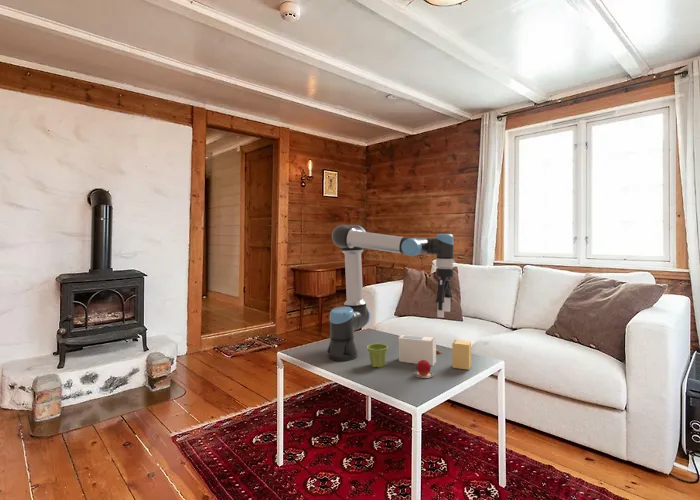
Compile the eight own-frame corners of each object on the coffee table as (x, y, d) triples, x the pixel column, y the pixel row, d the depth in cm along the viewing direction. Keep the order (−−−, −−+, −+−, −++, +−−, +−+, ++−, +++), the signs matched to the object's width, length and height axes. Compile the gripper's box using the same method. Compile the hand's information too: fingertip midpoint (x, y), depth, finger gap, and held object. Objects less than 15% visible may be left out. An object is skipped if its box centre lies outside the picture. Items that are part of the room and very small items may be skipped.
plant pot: (374, 370, 163) (373, 350, 163) (363, 364, 172) (363, 345, 171) (392, 366, 167) (391, 347, 167) (381, 360, 176) (380, 342, 176)
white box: (398, 361, 175) (398, 337, 174) (402, 357, 180) (402, 334, 180) (433, 365, 168) (432, 341, 167) (436, 361, 173) (435, 337, 173)
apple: (421, 380, 151) (421, 364, 151) (410, 373, 159) (410, 358, 158) (437, 376, 155) (437, 361, 154) (426, 370, 162) (425, 355, 162)
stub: (452, 367, 164) (452, 343, 163) (455, 363, 169) (454, 339, 169) (469, 369, 161) (468, 344, 160) (471, 365, 166) (470, 341, 166)
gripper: (447, 270, 157) (446, 320, 158) (458, 266, 179) (457, 309, 180) (429, 269, 160) (428, 319, 161) (442, 265, 183) (441, 308, 184)
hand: (443, 314), depth 171 cm, fingers open, 13 cm apart
